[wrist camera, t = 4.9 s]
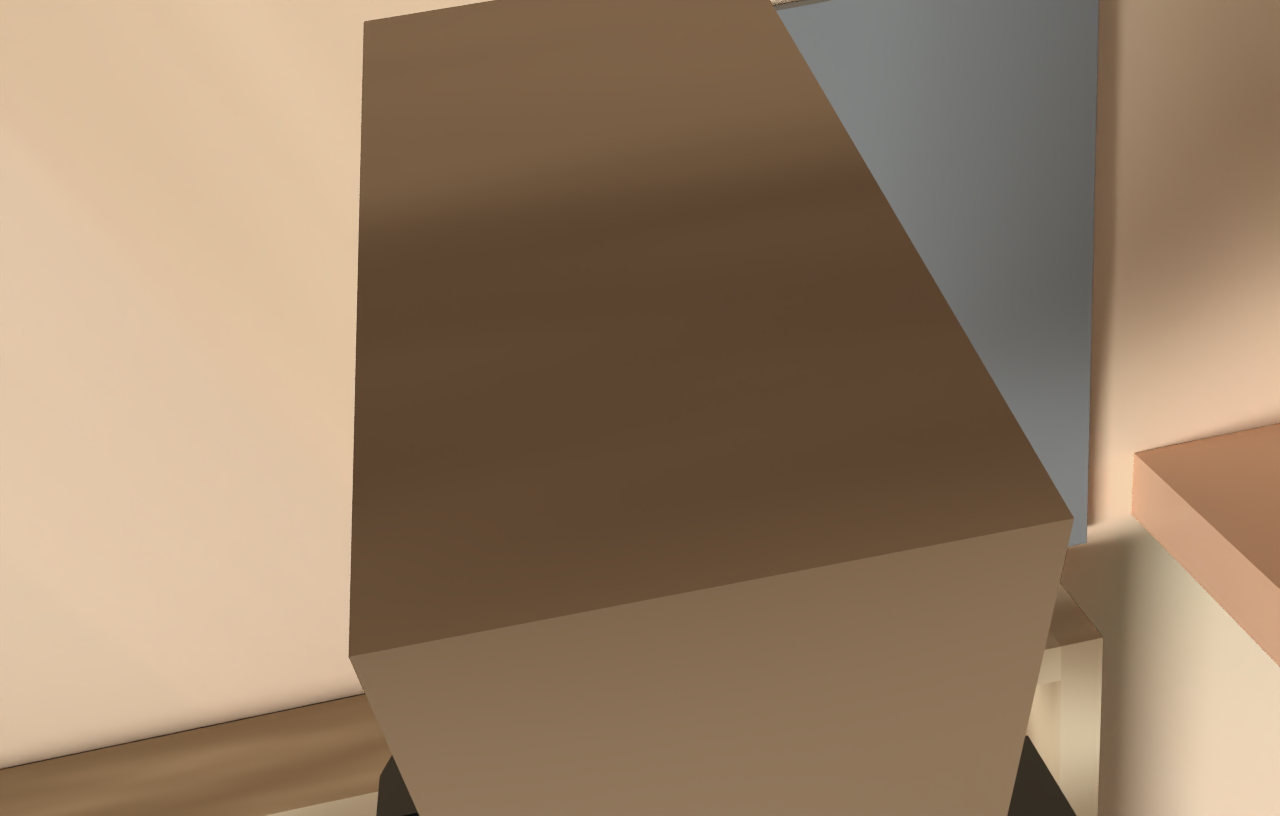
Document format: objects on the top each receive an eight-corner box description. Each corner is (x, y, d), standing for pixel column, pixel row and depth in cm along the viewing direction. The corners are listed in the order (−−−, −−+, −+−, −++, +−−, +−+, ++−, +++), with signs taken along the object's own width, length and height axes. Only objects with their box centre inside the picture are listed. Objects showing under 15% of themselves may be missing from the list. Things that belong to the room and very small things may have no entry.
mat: (744, 11, 24) (751, 14, 23) (1085, -51, 24) (1100, -49, 23) (807, 585, 30) (813, 599, 29) (1075, 530, 30) (1086, 542, 30)
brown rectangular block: (363, 21, 9) (348, 656, 5) (746, -40, 9) (1075, 517, 5) (573, 807, 17) (639, 1311, 13) (775, 766, 17) (908, 1250, 13)
